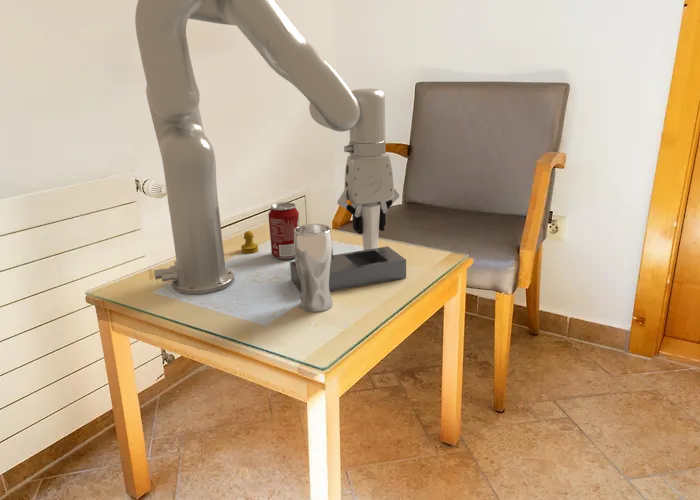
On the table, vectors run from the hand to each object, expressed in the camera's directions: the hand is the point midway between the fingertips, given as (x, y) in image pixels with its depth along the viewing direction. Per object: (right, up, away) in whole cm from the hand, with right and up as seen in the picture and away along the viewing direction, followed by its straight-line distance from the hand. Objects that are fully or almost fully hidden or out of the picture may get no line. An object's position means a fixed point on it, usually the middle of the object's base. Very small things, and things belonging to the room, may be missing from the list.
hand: (369, 230), depth 132 cm
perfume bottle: (0, -6, +2) cm, 7 cm away
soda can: (-19, -6, +5) cm, 20 cm away
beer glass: (-11, -15, -21) cm, 28 cm away
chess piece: (-28, -5, +8) cm, 30 cm away
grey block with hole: (-5, -10, -10) cm, 15 cm away
